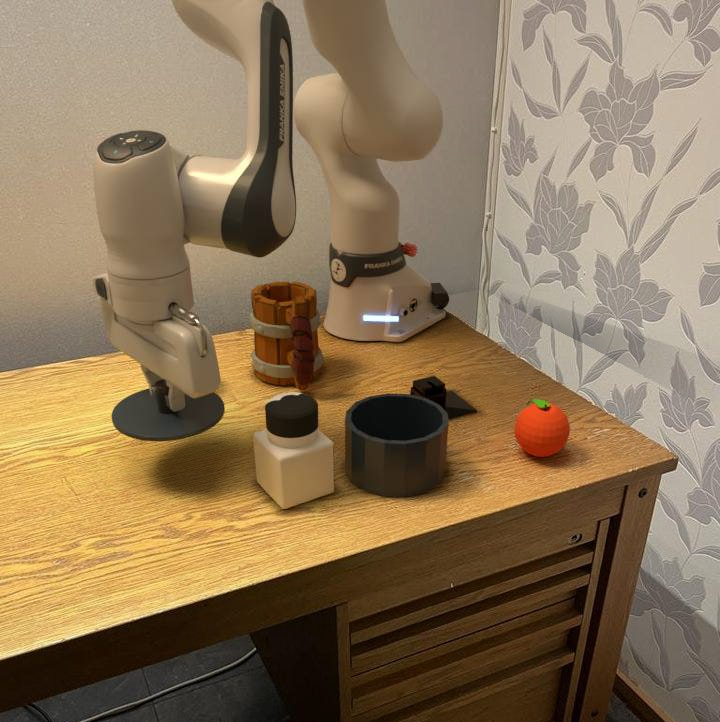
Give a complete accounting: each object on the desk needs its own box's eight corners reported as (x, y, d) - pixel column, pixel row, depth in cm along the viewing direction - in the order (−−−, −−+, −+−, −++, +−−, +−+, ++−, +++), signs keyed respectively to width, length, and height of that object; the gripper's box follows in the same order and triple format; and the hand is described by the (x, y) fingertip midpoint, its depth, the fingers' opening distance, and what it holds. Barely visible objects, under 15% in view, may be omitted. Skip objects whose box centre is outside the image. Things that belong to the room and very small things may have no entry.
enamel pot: (396, 434, 108) (398, 384, 104) (464, 471, 100) (469, 419, 96) (325, 466, 101) (324, 414, 97) (393, 509, 93) (395, 455, 89)
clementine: (498, 440, 107) (504, 392, 103) (544, 432, 108) (552, 385, 105) (527, 470, 100) (534, 421, 96) (575, 461, 102) (584, 413, 98)
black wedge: (401, 432, 108) (402, 402, 106) (376, 409, 114) (376, 380, 111) (477, 412, 113) (480, 382, 110) (450, 391, 118) (452, 362, 116)
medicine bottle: (335, 493, 96) (334, 404, 89) (282, 511, 93) (277, 421, 86) (306, 465, 101) (303, 380, 94) (255, 482, 98) (248, 395, 91)
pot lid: (188, 383, 105) (184, 350, 103) (246, 420, 97) (243, 386, 94) (93, 415, 98) (86, 380, 95) (147, 458, 89) (141, 422, 87)
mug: (310, 351, 130) (307, 261, 122) (343, 396, 117) (342, 297, 109) (245, 361, 127) (237, 268, 118) (272, 407, 114) (265, 307, 106)
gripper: (228, 311, 84) (238, 426, 92) (134, 263, 97) (149, 367, 104) (176, 327, 80) (191, 444, 88) (85, 275, 93) (105, 382, 101)
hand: (167, 402), depth 96 cm, fingers closed on pot lid, 2 cm apart
